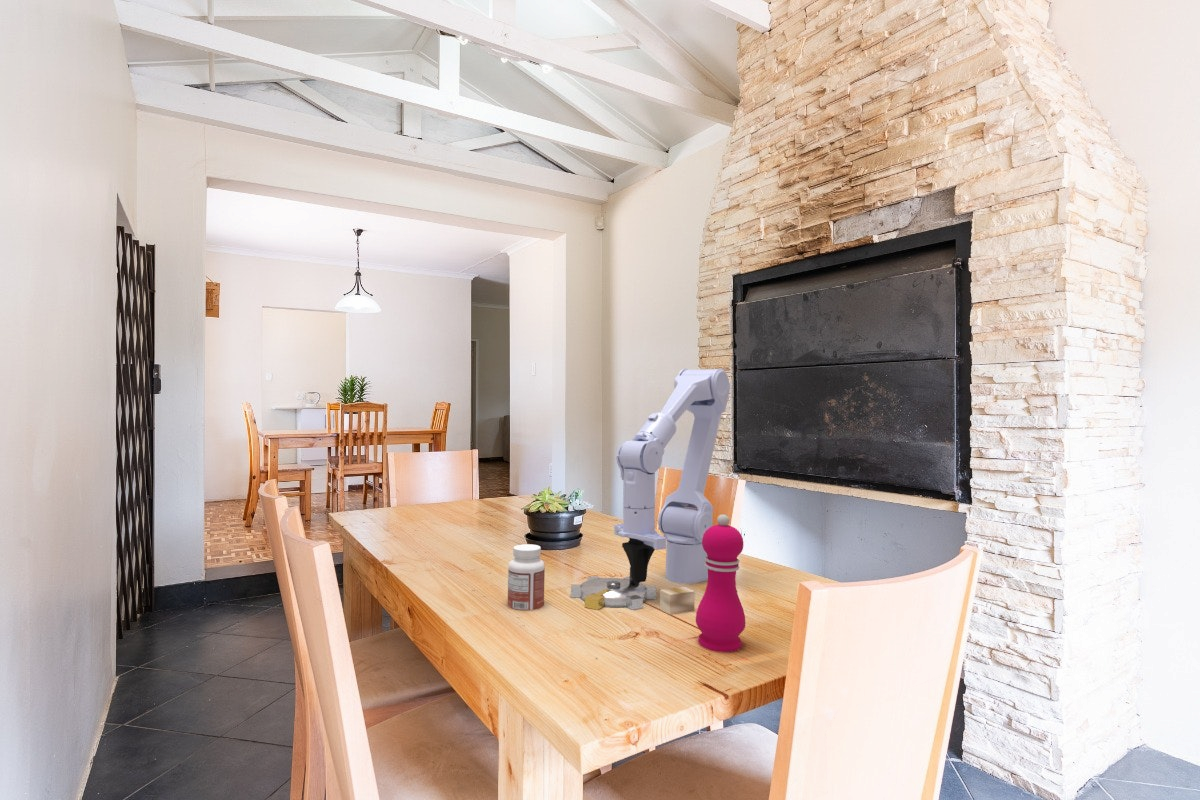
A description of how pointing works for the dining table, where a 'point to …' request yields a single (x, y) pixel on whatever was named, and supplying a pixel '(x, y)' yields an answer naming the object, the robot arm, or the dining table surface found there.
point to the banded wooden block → (677, 600)
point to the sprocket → (613, 592)
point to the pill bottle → (526, 578)
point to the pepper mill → (721, 589)
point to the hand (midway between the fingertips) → (638, 581)
